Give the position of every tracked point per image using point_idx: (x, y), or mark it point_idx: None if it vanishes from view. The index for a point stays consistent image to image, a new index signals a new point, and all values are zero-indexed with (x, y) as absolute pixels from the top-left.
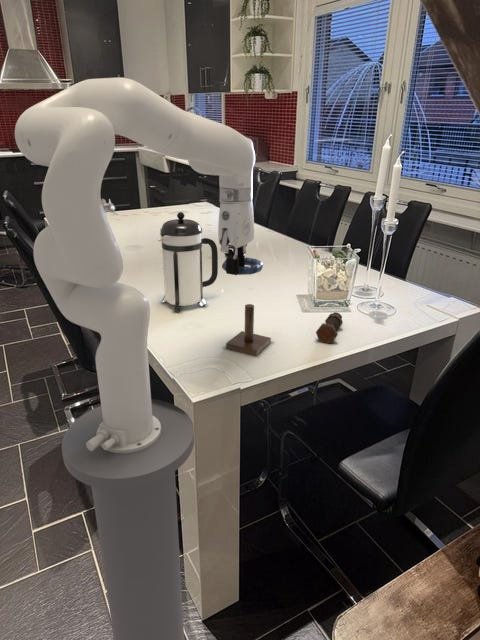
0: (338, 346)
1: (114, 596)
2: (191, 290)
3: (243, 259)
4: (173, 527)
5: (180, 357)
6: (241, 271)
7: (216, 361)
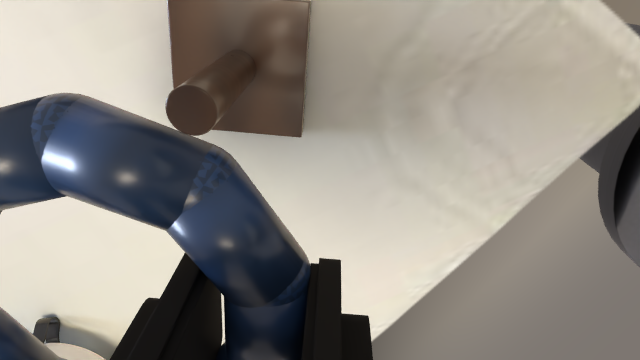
0: None
1: None
2: None
3: (163, 348)
4: (632, 26)
5: (419, 229)
6: (296, 252)
7: (406, 120)
